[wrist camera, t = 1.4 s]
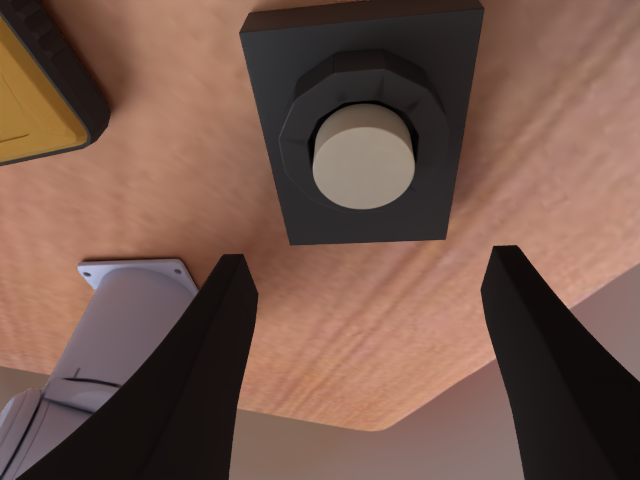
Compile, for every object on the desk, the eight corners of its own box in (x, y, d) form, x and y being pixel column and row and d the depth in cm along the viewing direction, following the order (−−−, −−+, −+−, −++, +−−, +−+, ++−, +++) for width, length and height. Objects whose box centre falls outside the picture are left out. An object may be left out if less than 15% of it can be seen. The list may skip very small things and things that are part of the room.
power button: (408, 181, 18) (412, 207, 17) (320, 186, 19) (318, 211, 18) (413, 98, 15) (418, 123, 14) (309, 107, 16) (306, 131, 15)
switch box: (439, 213, 24) (451, 264, 22) (293, 220, 26) (286, 269, 23) (471, -11, 16) (497, 26, 13) (248, 12, 17) (228, 51, 14)
